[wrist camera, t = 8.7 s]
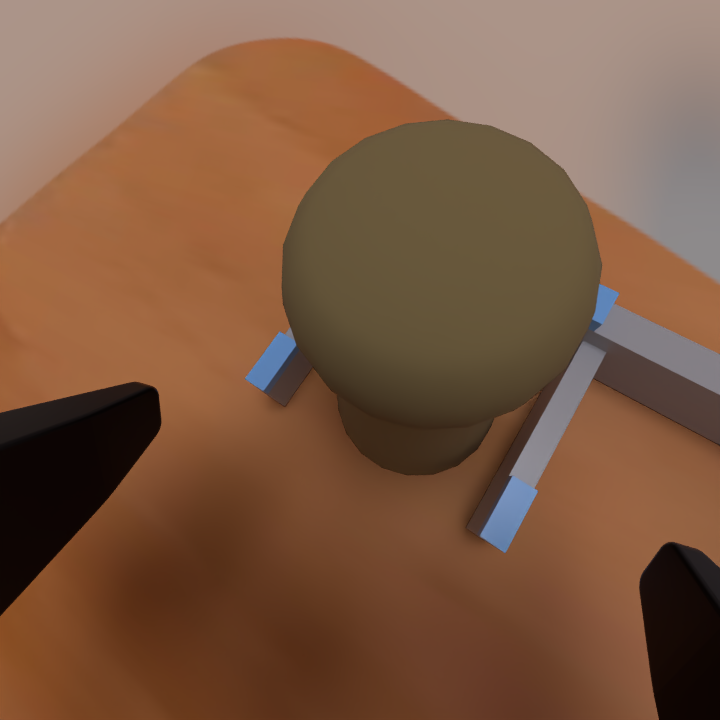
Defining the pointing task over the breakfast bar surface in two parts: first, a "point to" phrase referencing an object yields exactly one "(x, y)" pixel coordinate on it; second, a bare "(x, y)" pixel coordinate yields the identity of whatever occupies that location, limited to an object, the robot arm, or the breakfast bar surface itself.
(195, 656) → the breakfast bar surface
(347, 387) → the cork
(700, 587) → the robot arm
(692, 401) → the slotted rack
